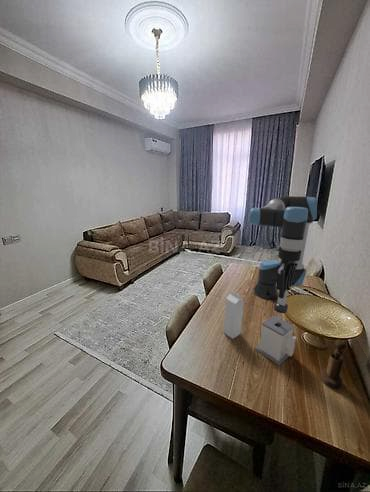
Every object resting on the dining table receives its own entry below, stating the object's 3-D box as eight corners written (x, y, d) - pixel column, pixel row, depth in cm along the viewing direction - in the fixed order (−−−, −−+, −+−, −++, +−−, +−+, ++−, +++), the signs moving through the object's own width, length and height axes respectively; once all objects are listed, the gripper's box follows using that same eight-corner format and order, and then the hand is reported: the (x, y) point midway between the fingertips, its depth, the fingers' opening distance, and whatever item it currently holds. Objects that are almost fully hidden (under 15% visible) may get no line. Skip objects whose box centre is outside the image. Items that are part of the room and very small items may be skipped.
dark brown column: (316, 373, 81) (325, 334, 76) (331, 372, 82) (342, 333, 77) (329, 389, 75) (340, 348, 70) (345, 388, 75) (358, 347, 70)
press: (268, 339, 99) (272, 313, 96) (296, 355, 90) (301, 328, 86) (255, 349, 93) (259, 323, 89) (284, 369, 83) (289, 339, 79)
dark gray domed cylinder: (273, 326, 93) (277, 299, 89) (286, 333, 89) (291, 305, 85) (266, 332, 90) (270, 303, 86) (279, 339, 85) (284, 310, 82)
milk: (232, 339, 99) (236, 297, 93) (222, 332, 103) (225, 292, 97) (240, 334, 102) (244, 293, 96) (231, 327, 107) (234, 288, 101)
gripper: (288, 243, 86) (280, 295, 92) (271, 249, 78) (264, 305, 84) (307, 248, 80) (297, 302, 87) (292, 254, 72) (282, 314, 78)
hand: (281, 304), depth 85 cm, fingers closed
